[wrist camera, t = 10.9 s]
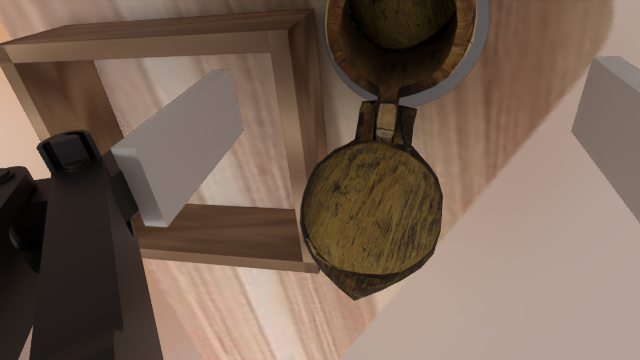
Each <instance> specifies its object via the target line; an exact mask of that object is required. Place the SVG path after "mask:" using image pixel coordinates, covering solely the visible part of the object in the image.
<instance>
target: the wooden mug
mask: <svg viewBox="0 0 640 360" xmlns="http://www.w3.org/2000/svg"><path fill="white" fill-rule="evenodd" d="M477 12H478V4H477V0H328V1H327V6H326V15H325V30H326V39H327V43H328V46H329V49H330V52H331V54H332V57H333V60H334V61H335V63H336V64H337V65H338V66H339V67H340V68H341V69H342V71H343V72H344V73H345V74H346V75H347V76H348V77H349V78H350V80H351V81H352V82H354V83H355V84H357V85H358V86H360V87H361V88H363V89H364V90H365V91H367V92H369V93H371V94H373V95H375V96H377V100H372V101H363V102H362V105H361V108H360V112H359V118H358V124H357V130H356V136H355V139H354V140H353V141H351V142H350V143H348V144H346V145H344V146H342V147H339V148H337V149H335V150H334V151H332V152H331V153H330V154H329V155H327V156H326V157H325V158H324V159H323V160H321V161H320V162H319V163H318V164H316V166H315V168H314V170H313V171H312V173H311V175H310V177H309V179H308V182H307V185H306V187H305V190H304V193H303V197H302V202H301V207H300V227H301V231H302V236H303V240H304V243H305V245H306V247H307V249H308V251H309V253H310V255H311V257H312V259H313V260H314V261H315V263H316V264H317V265H318V267H319V268H320V269H321V270H322V272H323V273H324V274H325V275H326V276H327V277H328V278H329V279H330V280H331V281H332V282H333V283H334V284H335V285H336V286H337V287H338V288H339V289H341V290H342V291H343V292H344V293H345V294H347V295H348V296H349V297H350V298H351V299H353V300H354V301H355V300H358V299H360V298H363V297H366V296H368V295H371V294H373V293H376V292H379V291H381V290H383V289H385V288H387V287H389V286H391V285H393V284H395V283H397V282H399V281H401V280H403V279H405V278H406V277H408V276H409V275H411V274H412V273H414V272H415V271H417V270H418V269H420V268H421V267H422V266H423V265H424V264H425V263H426V262H427V260H428V259H429V258H430V257H431V256H432V255H433V254H434V251H435V247H436V244H437V241H438V237H439V234H440V231H441V218H442V203H443V194H442V191H441V187H440V184H439V180H438V177H437V176H436V175H435V173H434V172H433V170H432V169H431V167H430V166H429V165H428V164H427V162H426V161H425V160H424V159H423V158H422V157H421V156H420V155H419V153H418V152H417V151H416V150H415V149H414V148H413V146H412V145H411V144H412V134H413V125H414V121H415V117H416V113H417V109H415V108H411V107H407V106H402V105H399V99H400V98H403V97H407V96H410V95H414V94H417V93H420V92H423V91H425V90H427V89H430V88H432V87H435V86H436V85H438V84H439V83H440V82H442V81H443V80H445V79H446V78H448V77H449V76H450V75H451V74H452V73H453V72H454V70H455V69H456V68H457V66H458V65H459V64H460V62H461V61H462V60H463V58H464V57H465V56H466V54H467V52H468V51H469V49H470V47H471V45H472V43H473V41H474V34H475V27H476V21H477Z"/></svg>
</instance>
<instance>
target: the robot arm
mask: <svg viewBox="0 0 640 360" xmlns="http://www.w3.org/2000/svg"><path fill="white" fill-rule="evenodd" d="M243 131H244V128H243V123H242V119H241V114H240V110H239V105H238V101H237V97H236V92H235V88H234V83H233V79H232V74H231V70H230V69H226V70H212V71H211V72H210V73H209V74H207V75H206V76H205V77H203V78H202V79H201V80H199V81H198V82H197V83H195V84H194V85H193V86H192V87H190V88H189V89H188V90H186V91H185V92H184V93H182V94H181V95H180V96H178V97H177V98H176V99H174V100H173V101H172V102H171V103H169V104H168V105H167V106H165V107H164V108H163V109H161V110H160V111H159V112H157V113H156V114H155V115H153V116H152V117H151V118H150V119H148V120H147V121H146V122H144V123H143V124H142V125H140V126H139V127H138V128H136V129H135V130H134V131H132V132H131V133H130V134H129V135H127V136H126V137H125V138H123V139H122V140H121V141H119V142H118V143H117V144H115V145H114V146H113V147H112V148H110V150H108V151H107V152H106V153H104V154H103V155H102V156H101V155H100V152H99V150H98V148H97V146H96V144H95V142H94V140H93V138H92V136H91V133H90V132H89V131H88V130H83V129H82V130H71V131H66V132H63V133H59V134H56V135H54V136H51V137H49V138H47V139H45V140H44V141H42V142H41V143H39V145H38V146H37V150H38V151H39V153H40V155H41V157H42V158H43V160H44V161H45V164H46V165H47V167H48V169H49V171H50V172H51V178H46V179H39V180H34V179H33V178H32V176H31V174H30V173H29V171H28V170H27V168H26V167H22V166H15V167H8V168H0V360H18V359H19V356H20V354H21V352H22V349H23V347H24V345H25V342H26V340H27V338H28V336H29V333H30V331H31V328H32V326H33V332H32V340H31V349H30V357H29V360H163V355H162V351H161V346H160V341H159V337H158V332H157V327H156V323H155V318H154V313H153V308H152V304H151V299H150V294H149V290H148V285H147V280H146V276H145V271H144V266H143V262H142V257H141V252H140V248H139V243H138V238H137V234H136V229H135V226H134V224H133V222H132V220H131V218H132V217H133V216H134V215H135V214H136V213H137V212H138V211H139V213H140V215H141V217H142V220H143V222H144V224H145V226H156V227H168V226H169V224H170V223H171V222H172V221H173V219H174V218H175V217H176V216H177V214H178V213H179V212H180V210H181V209H182V208H183V207H184V205H185V204H186V203H187V202H188V200H189V199H190V198H191V197H192V195H193V194H194V193H195V192H196V190H197V189H198V188H199V186H200V185H201V184H202V183H203V181H204V180H205V179H206V178H207V176H208V175H209V174H210V173H211V171H212V170H213V169H214V168H215V166H216V165H217V164H218V163H219V161H220V160H221V159H222V157H223V156H224V155H225V154H226V152H227V151H228V150H229V149H230V147H231V146H232V145H233V144H234V142H235V141H236V140H237V139H238V137H239V136H240V135H241V134H242V132H243ZM571 131H572V133H573V134H574V136H575V137H576V138H577V140H578V141H579V142H580V144H581V145H582V146H583V148H584V149H585V150H586V152H587V153H588V154H589V156H590V157H591V158H592V160H593V161H594V162H595V164H596V165H597V166H598V168H599V169H600V170H601V172H602V173H603V174H604V176H605V177H606V178H607V180H608V181H609V182H610V184H611V185H612V186H613V188H614V189H615V190H616V192H617V193H618V194H619V196H620V197H621V198H622V200H623V201H624V202H625V204H626V205H627V207H628V208H629V209H630V210H631V212H632V213H633V214H634V216H635V217H636V219H637V220H638V221H639V223H640V70H639V69H638V68H637V67H635V66H633V65H632V64H630V63H629V62H627V61H626V60H624V59H623V58H621V57H620V56H611V57H610V56H608V57H593V59H592V63H591V66H590V69H589V73H588V76H587V79H586V83H585V86H584V90H583V93H582V96H581V100H580V103H579V107H578V110H577V114H576V117H575V120H574V123H573V127H572V130H571Z"/></svg>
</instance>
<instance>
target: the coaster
mask: <svg viewBox="0 0 640 360" xmlns="http://www.w3.org/2000/svg"><path fill="white" fill-rule="evenodd" d="M477 4H478V12H477V21H476V27H475V34H474V41H473V43H472V45H471V47H470V49H469V51H468V52H467V54H466V56H465V57H464V58H463V60H462V61H461V62H460V64H459V65H458V66H457V68H456V69H455V70H454V72H453V73H452V74H451V75H450V76H449V77H448V78H446V79H445V80H443V81H442V82H440V83H439V84H438V85H436V86H435V87H432V88H430V89H427V90H425V91H423V92H420V93H417V94H414V95H410V96H407V97H403V98H400V99H399V105H402V106H407V107H409V106H416V105H421V104H424V103H427V102H430V101H432V100H435V99H437V98H439V97H441V96H442V95H444V94H446V93H447V92H449V91H450V90H452V89H453V88H454V87H455V86H457V85H458V84H459V83H460V82H461V81H462V80H463V79H464V78H465V77H466V76H467V74H468V73H469V72H470V71H471V70H472V68H473V66H474V65H475V63H476V62H477V60H478V58H479V56H480V54H481V52H482V50H483V47H484V44H485V41H486V38H487V33H488V28H489V16H490V14H489V2H488V0H477ZM325 15H326V14H325ZM324 31H325V42H326V47H327V51H328V55H329V57H330V60H331V62H332V65H333V67H334V68H335V70H336V72H337V73H338V75H339V76H340V78H341V79H342V80H343V81H344V82H345V83H346V84H347V86H348V87H349V88H351V89H352V90H353V91H354V92H356V93H357V94H358V95H360V96H362V97H363V98H365V99H367V100H370V101H372V100H377V96H375V95H373V94H371V93H369V92H367V91H365V90H364V89H363V88H361V87H360V86H358V85H357V84H355V83H354V82H352V81H351V80H350V78H349V77H348V76H347V75H346V74H345V73H344V72H343V71H342V69H341V68H340V67H339V66H338V65H337V64H336V63H335V61H334V60H333V57H332V54H331V52H330V49H329V46H328V43H327V39H326V30H325V24H324Z"/></svg>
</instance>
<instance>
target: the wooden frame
mask: <svg viewBox="0 0 640 360" xmlns="http://www.w3.org/2000/svg"><path fill="white" fill-rule="evenodd" d="M263 52H271V58H272V64H273V71H274V77H275V83H276V90H277V96H278V103H279V109H280V116H281V122H282V128H283V135H284V141H285V148H286V154H287V160H288V167H289V173H290V180H291V186H292V193H293V199H294V205H295V210H292V209H273V208H253V207H234V206H215V205H195V204H185V205H184V207H183V208H182V209H181V210H180V212H179V213H178V214H177V216H176V217H175V218H174V219H173V221H172V222H171V223H170V224H169V226H168V227H156V226H145V224H144V222H143V220H142V217H141V215H140V213H139V211H138V212H137V213H136V214H135V215H134V216H133V217H132V218H131V220H132V222H133V224H134V226H135V229H136V234H137V238H138V243H139V248H140V252H141V257H142V258H147V259H158V260H169V261H181V262H192V263H203V264H215V265H226V266H237V267H249V268H260V269H271V270H282V271H294V272H305V273H316V274H319V271H320V268H319V267H318V265H317V264H316V263H315V261H314V260H313V259H312V257H311V255H310V253H309V251H308V249H307V247H306V245H305V243H304V240H303V236H302V231H301V227H300V207H301V202H302V197H303V193H304V190H305V187H306V185H307V182H308V179H309V177H310V175H311V173H312V171H313V170H314V168H315V166H316V164H318V163H319V162H320V161H321V160H323V159H324V158H325V157H326V156H327V148H326V137H325V126H324V115H323V104H322V93H321V82H320V71H319V60H318V49H317V38H316V27H315V16H314V9H302V10H287V11H272V12H257V13H242V14H227V15H213V16H198V17H183V18H168V19H153V20H138V21H123V22H108V23H93V24H78V25H65V26H62V27H58V28H54V29H51V30H47V31H43V32H40V33H36V34H32V35H29V36H25V37H22V38H18V39H14V40H11V41H7V42H3V43H0V66H1V68H2V70H3V72H4V74H5V76H6V78H7V79H8V81H9V83H10V85H11V87H12V89H13V91H14V92H15V94H16V96H17V98H18V100H19V102H20V104H21V105H22V107H23V109H24V111H25V113H26V115H27V117H28V119H29V120H30V122H31V124H32V126H33V128H34V130H35V132H36V134H37V135H38V137H39V139H40V141H41V142H42V141H44V140H45V139H47V138H49V137H51V136H54V135H56V134H59V133H63V132H66V131H71V130H82V129H83V130H88V131H89V132H90V133H91V136H92V138H93V140H94V142H95V144H96V146H97V148H98V150H99V152H100V155H101V156H102V155H103V154H104V153H106V152H107V151H108V150H110V148H112V147H113V146H114V145H115V144H117V143H118V142H119V141H121V140H122V139H123V135H122V133H121V130H120V128H119V125H118V123H117V120H116V118H115V115H114V113H113V111H112V108H111V106H110V103H109V101H108V98H107V96H106V93H105V91H104V88H103V86H102V83H101V81H100V78H99V76H98V73H97V71H96V68H95V66H94V64H93V61H92V60H99V59H122V58H146V57H169V56H193V55H216V54H240V53H263Z"/></svg>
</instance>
